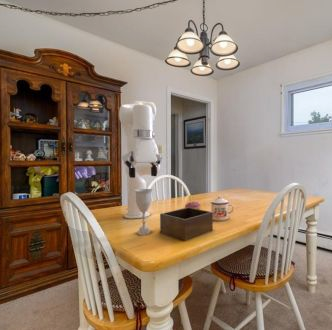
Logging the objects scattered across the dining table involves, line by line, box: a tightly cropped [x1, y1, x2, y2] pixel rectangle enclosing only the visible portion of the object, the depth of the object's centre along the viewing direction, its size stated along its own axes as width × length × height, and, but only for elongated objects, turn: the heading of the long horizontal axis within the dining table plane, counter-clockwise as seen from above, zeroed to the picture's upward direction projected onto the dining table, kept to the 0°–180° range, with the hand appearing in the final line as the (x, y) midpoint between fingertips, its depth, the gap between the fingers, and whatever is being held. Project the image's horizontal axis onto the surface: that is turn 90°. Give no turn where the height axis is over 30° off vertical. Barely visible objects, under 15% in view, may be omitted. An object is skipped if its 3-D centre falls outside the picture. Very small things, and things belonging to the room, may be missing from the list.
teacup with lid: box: [210, 195, 235, 222], centre depth 116 cm, size 12×9×12 cm
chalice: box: [135, 188, 153, 236], centre depth 93 cm, size 7×7×18 cm
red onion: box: [184, 194, 202, 210], centre depth 123 cm, size 9×8×12 cm
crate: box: [159, 207, 214, 242], centre depth 95 cm, size 16×16×8 cm
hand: (143, 176), depth 93 cm, fingers open, 9 cm apart
